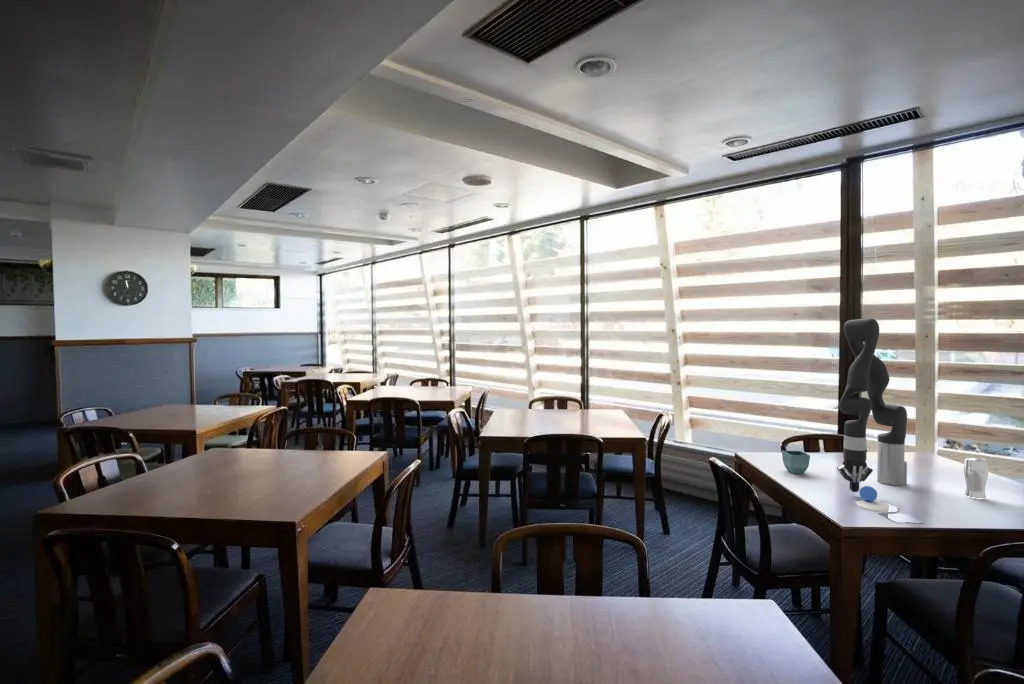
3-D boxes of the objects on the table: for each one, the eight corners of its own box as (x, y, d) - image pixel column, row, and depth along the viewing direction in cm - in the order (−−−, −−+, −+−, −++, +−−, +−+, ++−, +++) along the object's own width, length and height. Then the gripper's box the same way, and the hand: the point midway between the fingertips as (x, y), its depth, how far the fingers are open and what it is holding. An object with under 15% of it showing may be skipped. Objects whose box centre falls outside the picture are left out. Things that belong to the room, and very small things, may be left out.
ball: (879, 485, 192) (882, 501, 189) (866, 487, 197) (870, 502, 194) (866, 484, 191) (869, 500, 188) (854, 486, 196) (857, 501, 194)
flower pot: (810, 475, 228) (810, 455, 228) (790, 474, 228) (791, 455, 228) (800, 469, 237) (800, 450, 237) (781, 469, 237) (781, 450, 237)
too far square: (904, 514, 179) (904, 513, 179) (923, 523, 170) (923, 522, 170) (877, 513, 179) (877, 513, 179) (896, 523, 170) (896, 522, 170)
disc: (882, 500, 193) (882, 500, 193) (907, 513, 180) (907, 512, 180) (847, 500, 193) (847, 500, 193) (870, 512, 180) (870, 512, 180)
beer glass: (984, 501, 192) (985, 462, 191) (960, 496, 197) (961, 458, 197) (990, 498, 195) (990, 459, 195) (966, 493, 201) (967, 456, 201)
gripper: (843, 449, 196) (842, 494, 196) (878, 450, 195) (878, 494, 195) (831, 445, 203) (831, 488, 203) (865, 445, 203) (865, 488, 203)
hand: (854, 491), depth 199 cm, fingers closed
